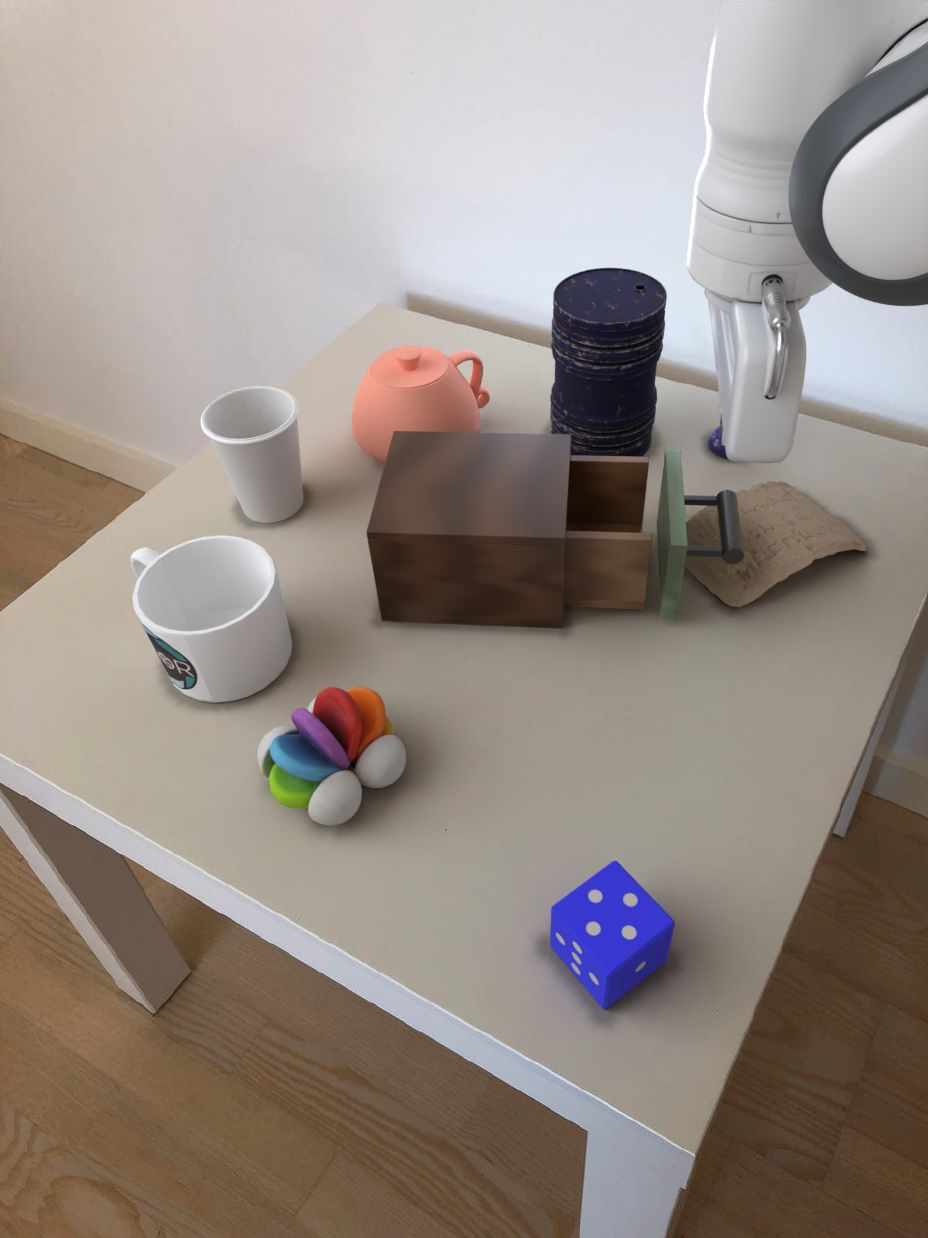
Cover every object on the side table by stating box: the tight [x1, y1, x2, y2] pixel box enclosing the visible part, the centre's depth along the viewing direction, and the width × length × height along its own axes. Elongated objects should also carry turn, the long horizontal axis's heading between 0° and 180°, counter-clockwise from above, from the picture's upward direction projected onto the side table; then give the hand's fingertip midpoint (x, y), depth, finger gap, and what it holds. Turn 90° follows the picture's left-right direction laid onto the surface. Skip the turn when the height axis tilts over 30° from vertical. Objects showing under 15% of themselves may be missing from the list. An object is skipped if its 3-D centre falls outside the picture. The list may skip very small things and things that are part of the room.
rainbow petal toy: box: [256, 686, 407, 827], centre depth 64 cm, size 8×10×7 cm
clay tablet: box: [684, 480, 867, 608], centre depth 79 cm, size 14×10×3 cm
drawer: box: [564, 449, 744, 621], centre depth 75 cm, size 18×11×8 cm, turn 84°
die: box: [549, 860, 676, 1010], centre depth 55 cm, size 5×5×5 cm
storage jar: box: [549, 267, 668, 457], centre depth 86 cm, size 10×10×15 cm
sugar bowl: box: [351, 344, 491, 465], centre depth 89 cm, size 12×14×10 cm
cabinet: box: [366, 431, 571, 630], centre depth 76 cm, size 15×13×10 cm
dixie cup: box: [200, 385, 304, 524], centre depth 84 cm, size 8×8×10 cm
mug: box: [129, 534, 293, 704], centre depth 72 cm, size 13×10×8 cm
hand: (733, 434), depth 66 cm, fingers closed
